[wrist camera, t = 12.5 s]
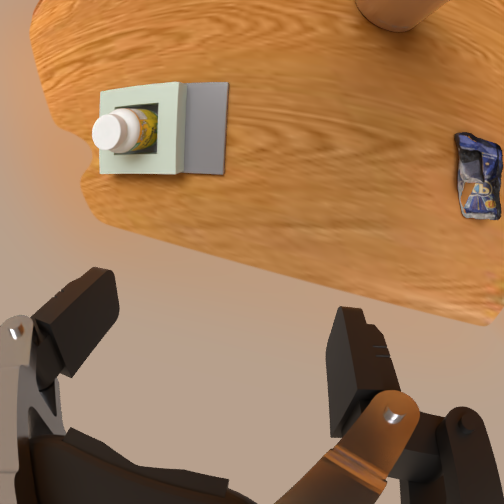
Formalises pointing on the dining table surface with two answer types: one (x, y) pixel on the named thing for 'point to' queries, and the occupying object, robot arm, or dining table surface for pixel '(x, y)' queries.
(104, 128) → the supplement bottle
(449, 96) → the dining table surface
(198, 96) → the socket board
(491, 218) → the snack package
